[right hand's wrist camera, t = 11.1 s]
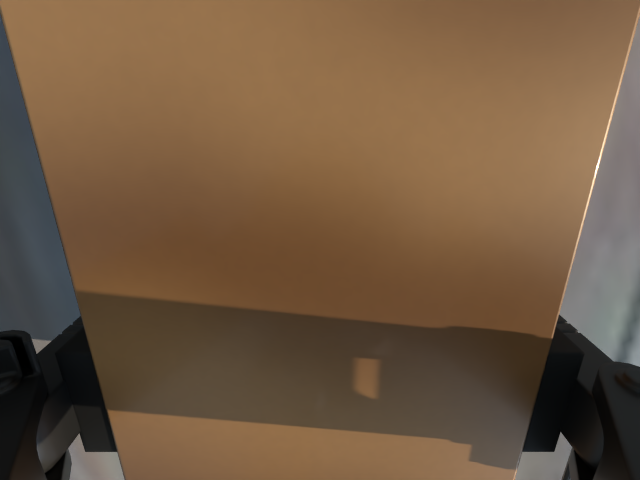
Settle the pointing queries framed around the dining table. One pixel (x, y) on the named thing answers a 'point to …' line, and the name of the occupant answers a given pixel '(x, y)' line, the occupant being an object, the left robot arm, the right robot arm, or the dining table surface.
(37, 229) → the dining table surface
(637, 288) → the dining table surface
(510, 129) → the wide beam
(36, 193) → the dining table surface
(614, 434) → the right robot arm
